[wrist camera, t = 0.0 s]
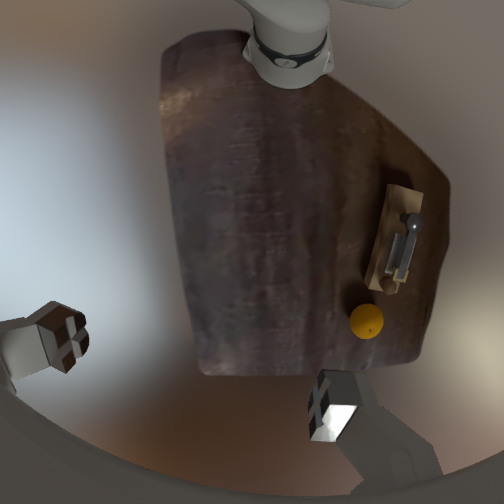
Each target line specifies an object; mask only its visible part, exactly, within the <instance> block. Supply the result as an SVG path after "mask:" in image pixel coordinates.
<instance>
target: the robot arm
mask: <svg viewBox="0 0 504 504" xmlns="http://www.w3.org/2000/svg"><path fill="white" fill-rule="evenodd" d="M235 1H237V2H238V3H240V4H241V5H242V6H244V7H245V8H246V9H247V10H248V11H249V12H250V13H251V16H252V18H253V24H254V26H253V29H251V30H250V35H251V36H250V38H249V40H248V42H247V44H246V46H245V48H244V50H243V57H244V58H245V59H246V60H247V61H248V62H250V63H251V64H252V65H253V66H254V67H255V69H256V71H257V73H258V74H259V75H260V76H261V77H262V78H263V79H264V80H265V81H266V82H268V83H270V84H272V85H274V86H277V87H280V88H286V89H295V88H301V87H304V86H307V85H309V84H311V83H312V82H314V81H315V80H316V79H317V78H318V77H320V76H321V75H323V74H326V73H329V72H332V71H333V69H334V60H333V52H332V46H331V39H330V33H329V27H328V25H329V22H330V19H331V15H332V14H331V13H332V12H331V6H330V4H329V2H328V0H235ZM343 1H346V2H350V3H356V4H363V5H369V6H375V7H381V8H387V9H396V8H399V7H401V6H403V5H405V4H407V3H408V2H410V1H411V0H343ZM328 61H329V62H330V63H328ZM85 325H86V319H85V315H84V314H82V312H79V311H76V310H75V309H72V308H70V307H68V306H65V305H62V304H60V303H58V302H56V301H50V302H49V303H47V304H46V305H45V306H43V307H41V308H40V309H39V310H37V311H36V312H34V313H33V314H31V315H30V316H29V317H27V318H24V317H22V318H17V319H12V320H6V321H1V322H0V504H504V450H503V451H501V452H499V453H497V454H495V455H493V456H491V457H489V458H487V459H484V460H483V461H480V462H478V463H475V464H473V465H470V466H468V467H465V468H463V469H460V470H457V471H455V472H452V473H449V474H446V475H443V473H442V470H441V467H440V465H439V462H438V459H437V457H436V454H435V451H434V449H433V446H432V445H431V444H430V443H429V442H427V441H426V440H425V439H423V438H422V437H421V436H420V435H418V434H417V433H416V432H415V431H413V430H412V429H411V428H409V427H408V426H407V425H406V424H404V423H403V422H402V421H401V420H400V419H398V418H397V417H396V416H395V415H393V414H392V413H391V412H390V411H388V410H387V409H386V408H385V407H383V406H379V404H378V401H377V399H376V396H375V393H374V390H373V387H372V385H371V382H370V379H369V376H368V374H367V373H366V372H365V371H339V370H327V369H321V370H320V372H319V374H318V376H317V385H316V386H314V387H313V388H312V391H311V393H310V396H309V401H308V414H309V416H310V417H311V418H312V419H311V421H310V423H309V433H310V440H313V441H331V442H335V443H336V445H337V446H338V447H339V448H340V450H341V451H342V452H343V454H344V455H345V456H346V458H347V459H348V460H349V461H350V463H351V464H352V465H353V466H354V467H355V469H356V470H357V471H358V473H359V474H360V475H361V476H362V478H363V479H364V480H363V481H362V482H361V483H360V484H359V485H358V486H356V487H355V488H354V489H353V490H352V491H351V494H350V495H337V496H279V495H265V494H256V493H247V492H240V491H233V490H227V489H221V488H216V487H212V486H206V485H202V484H198V483H194V482H190V481H186V480H182V479H179V478H175V477H172V476H168V475H165V474H162V473H159V472H156V471H153V470H150V469H147V468H144V467H142V466H139V465H137V464H134V463H131V462H129V461H126V460H124V459H122V458H119V457H117V456H115V455H113V454H110V453H108V452H106V451H104V450H102V449H100V448H98V447H96V446H94V445H92V444H90V443H88V442H86V441H84V440H82V439H80V438H78V437H77V436H75V435H73V434H71V433H70V432H68V431H66V430H64V429H63V428H61V427H60V426H58V425H56V424H55V423H53V422H51V421H50V420H49V419H47V418H46V417H44V416H43V415H41V414H40V413H38V412H37V411H35V410H34V409H32V408H31V407H29V406H28V405H27V404H26V403H24V402H23V401H22V400H20V399H19V398H18V397H17V396H15V395H16V389H15V387H14V385H13V383H12V382H14V381H16V380H19V379H21V378H24V377H26V376H28V375H31V374H33V373H35V372H38V371H40V370H43V369H45V368H47V367H49V365H50V366H52V367H54V368H56V369H58V370H59V371H61V372H63V373H65V374H66V373H67V372H68V371H69V370H70V369H71V368H72V367H73V366H74V365H75V363H76V358H79V357H82V356H83V355H84V354H85V353H86V351H87V349H88V346H89V334H88V332H87V331H86V329H85V328H84V327H85Z"/></svg>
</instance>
